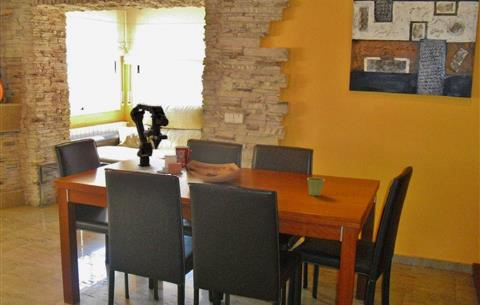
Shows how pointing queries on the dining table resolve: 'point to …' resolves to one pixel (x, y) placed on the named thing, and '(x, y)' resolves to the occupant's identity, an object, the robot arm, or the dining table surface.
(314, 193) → the plant pot
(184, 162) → the mug
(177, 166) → the housing
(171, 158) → the pale beige block
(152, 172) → the dining table surface
